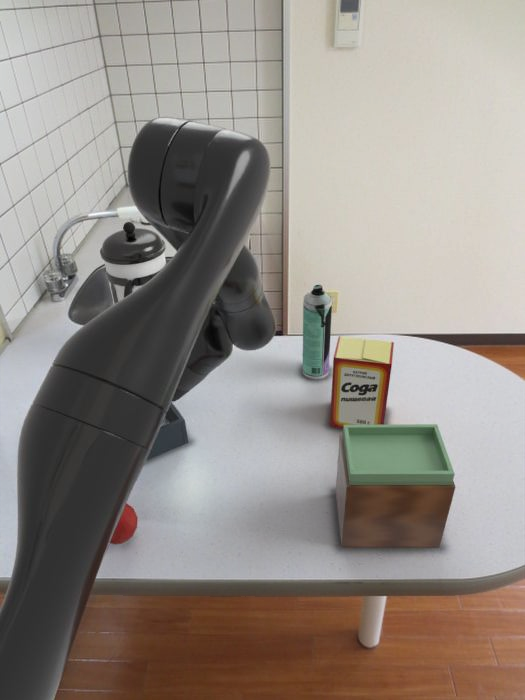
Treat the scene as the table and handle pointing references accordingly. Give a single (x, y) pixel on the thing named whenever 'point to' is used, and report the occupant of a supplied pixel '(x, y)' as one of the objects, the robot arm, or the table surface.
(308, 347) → the spray can
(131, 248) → the coffee press
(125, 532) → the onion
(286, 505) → the table surface
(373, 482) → the tray
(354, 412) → the baking soda box
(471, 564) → the table surface
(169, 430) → the dark grey open box
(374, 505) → the riser
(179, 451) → the table surface
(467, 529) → the table surface
